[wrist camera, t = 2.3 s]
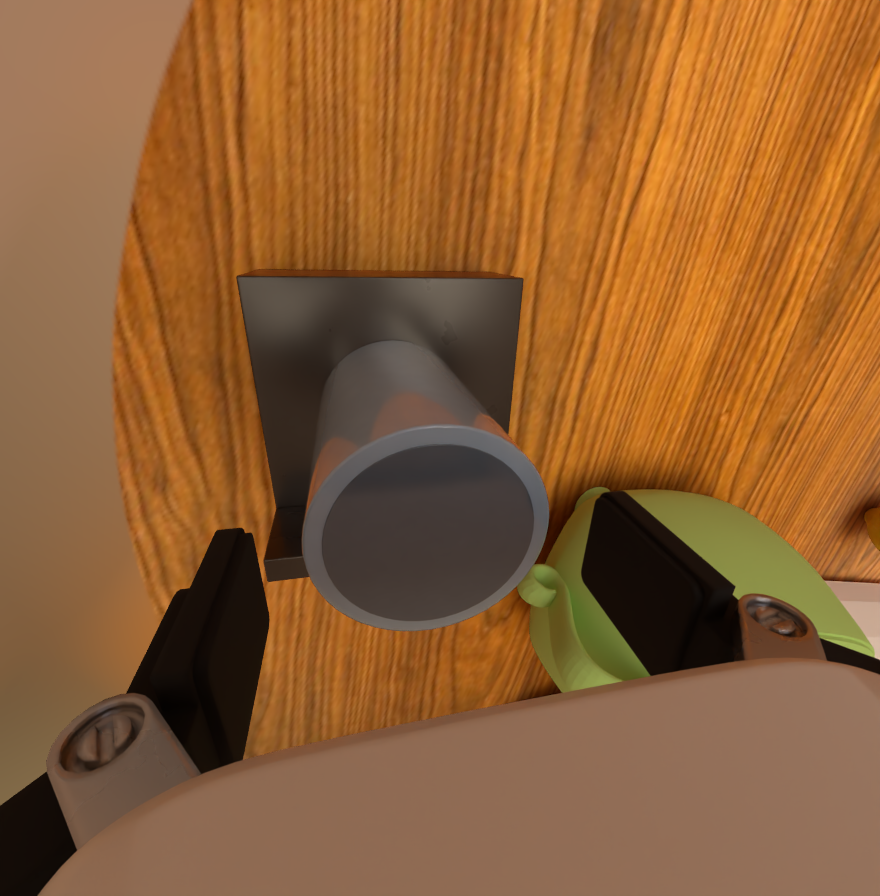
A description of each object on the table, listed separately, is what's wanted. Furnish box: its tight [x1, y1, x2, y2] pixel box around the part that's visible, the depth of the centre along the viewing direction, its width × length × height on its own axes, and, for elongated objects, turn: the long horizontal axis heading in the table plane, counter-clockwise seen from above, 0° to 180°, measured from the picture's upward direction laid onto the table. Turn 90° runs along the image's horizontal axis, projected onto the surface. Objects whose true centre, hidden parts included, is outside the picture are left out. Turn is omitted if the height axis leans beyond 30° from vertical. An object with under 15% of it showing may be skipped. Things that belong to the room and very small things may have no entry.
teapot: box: [517, 487, 875, 693], centre depth 29 cm, size 25×22×16 cm
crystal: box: [825, 581, 880, 660], centre depth 41 cm, size 7×7×24 cm
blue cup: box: [302, 340, 549, 631], centre depth 16 cm, size 7×7×10 cm
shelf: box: [236, 269, 523, 582], centre depth 21 cm, size 12×12×9 cm
